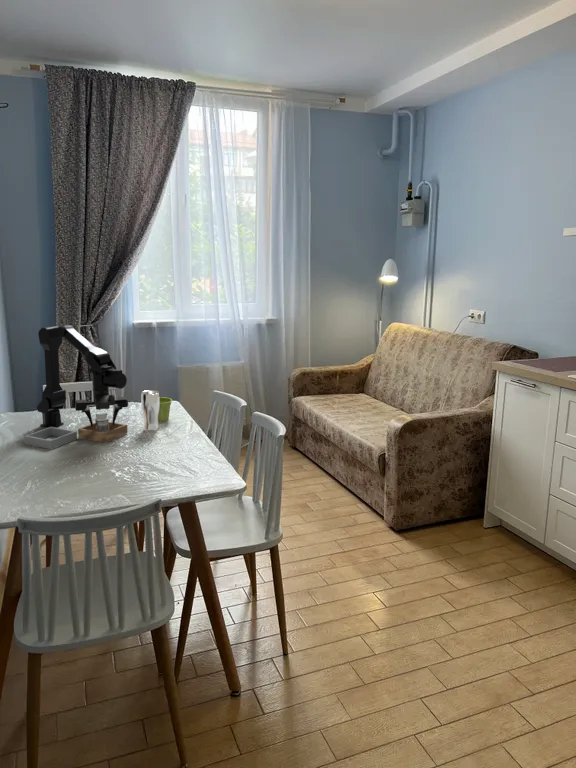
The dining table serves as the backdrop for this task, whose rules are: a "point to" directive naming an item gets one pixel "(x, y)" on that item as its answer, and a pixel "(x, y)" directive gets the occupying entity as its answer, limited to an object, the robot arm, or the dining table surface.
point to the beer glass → (150, 409)
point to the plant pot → (164, 409)
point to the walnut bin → (92, 434)
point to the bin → (62, 434)
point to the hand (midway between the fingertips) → (102, 425)
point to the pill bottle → (102, 422)
